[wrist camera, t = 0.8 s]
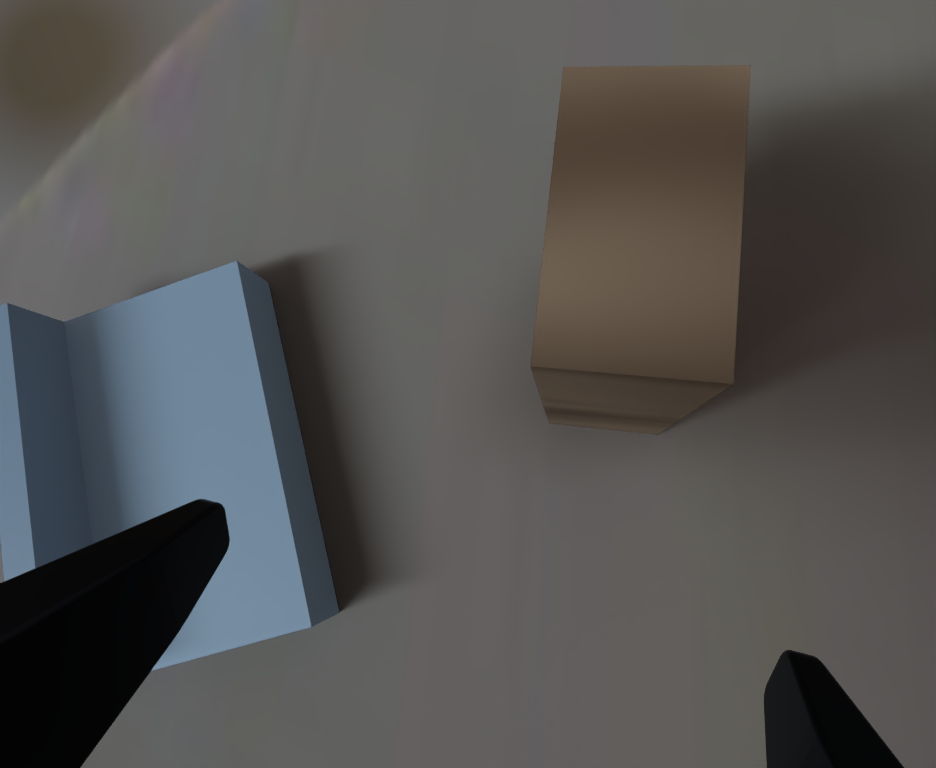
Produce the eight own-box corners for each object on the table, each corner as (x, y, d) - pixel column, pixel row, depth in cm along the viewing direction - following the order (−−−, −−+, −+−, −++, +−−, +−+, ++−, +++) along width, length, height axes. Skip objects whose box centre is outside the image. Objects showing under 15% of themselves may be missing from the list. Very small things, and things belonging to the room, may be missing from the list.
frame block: (659, 434, 22) (736, 384, 12) (547, 423, 23) (528, 365, 12) (672, 255, 23) (752, 65, 13) (565, 250, 24) (560, 66, 13)
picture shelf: (339, 612, 23) (275, 645, 18) (131, 669, 24) (17, 715, 19) (268, 282, 26) (197, 233, 21) (86, 345, 27) (-21, 313, 22)
